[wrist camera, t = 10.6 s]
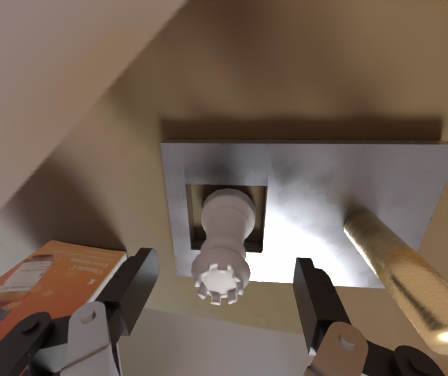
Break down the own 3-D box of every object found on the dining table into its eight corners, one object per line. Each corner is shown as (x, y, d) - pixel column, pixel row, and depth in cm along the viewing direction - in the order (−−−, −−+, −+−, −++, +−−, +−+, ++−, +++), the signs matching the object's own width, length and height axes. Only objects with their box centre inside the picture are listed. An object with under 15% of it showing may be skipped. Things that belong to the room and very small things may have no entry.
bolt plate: (441, 140, 14) (736, 205, 6) (389, 275, 19) (510, 424, 10) (167, 139, 16) (76, 188, 7) (181, 263, 21) (136, 383, 12)
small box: (128, 250, 21) (27, 382, 11) (131, 291, 23) (50, 431, 13) (49, 238, 21) (-115, 357, 12) (60, 280, 23) (-70, 409, 14)
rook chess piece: (193, 197, 18) (158, 267, 11) (242, 177, 17) (242, 239, 10) (216, 238, 19) (200, 325, 12) (263, 222, 18) (277, 307, 11)
